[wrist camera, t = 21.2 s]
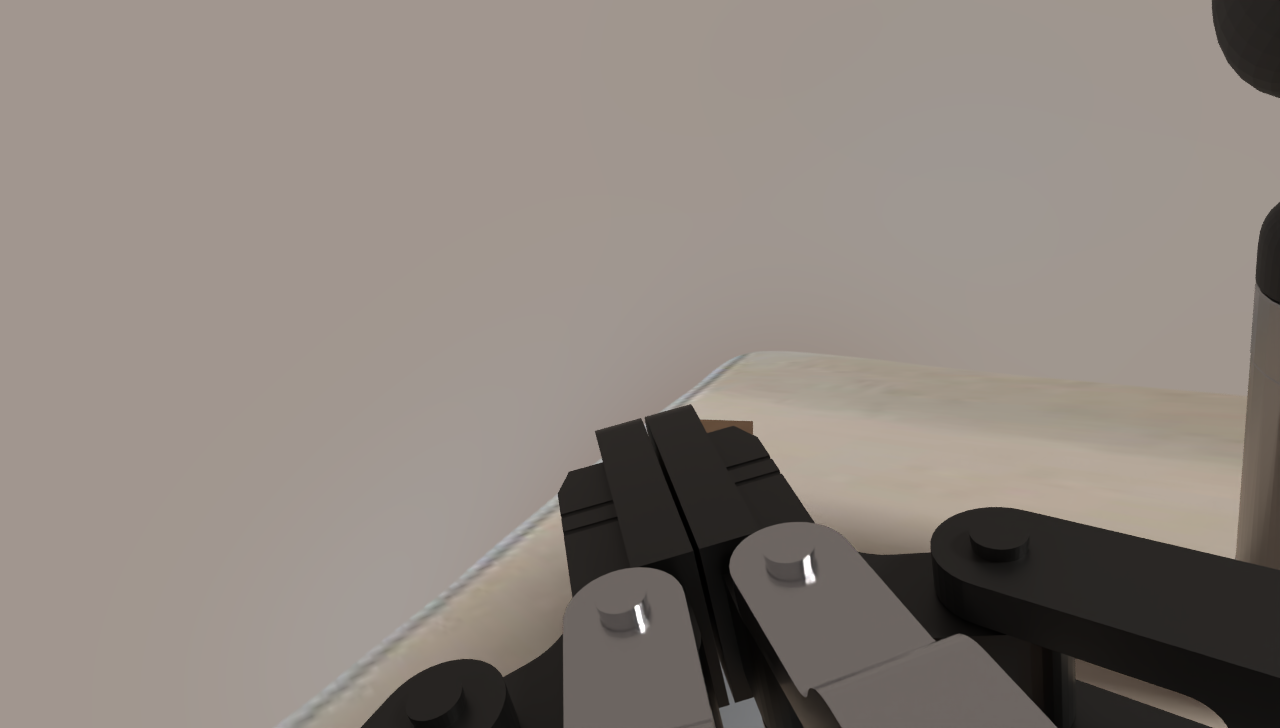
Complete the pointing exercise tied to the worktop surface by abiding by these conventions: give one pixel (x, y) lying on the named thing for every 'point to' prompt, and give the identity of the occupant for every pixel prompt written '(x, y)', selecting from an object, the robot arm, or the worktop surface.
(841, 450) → the worktop surface
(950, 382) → the worktop surface
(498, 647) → the worktop surface
